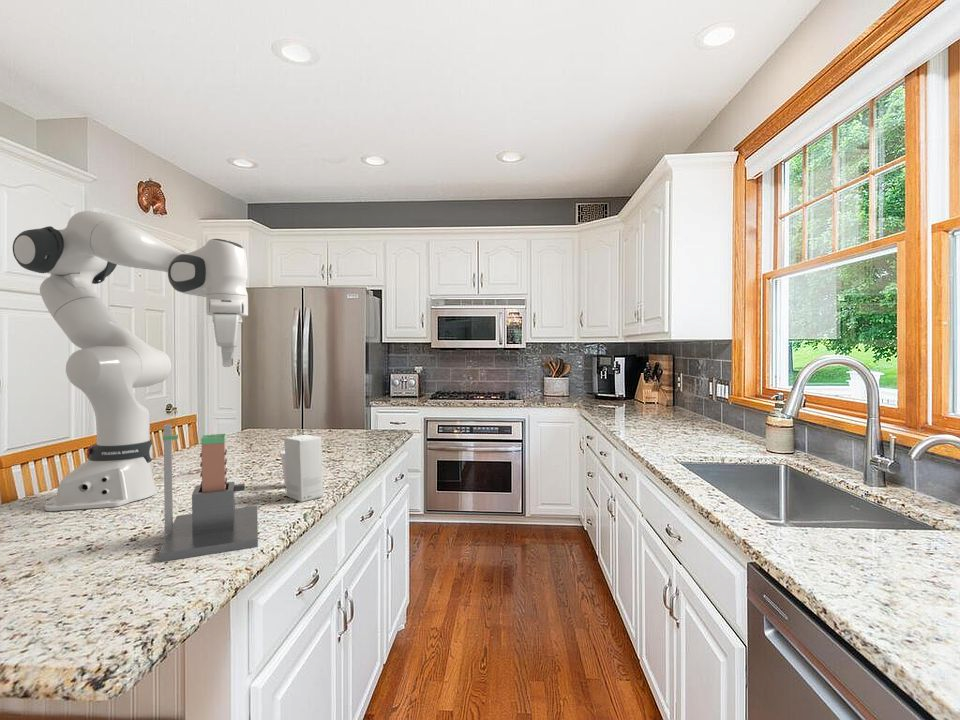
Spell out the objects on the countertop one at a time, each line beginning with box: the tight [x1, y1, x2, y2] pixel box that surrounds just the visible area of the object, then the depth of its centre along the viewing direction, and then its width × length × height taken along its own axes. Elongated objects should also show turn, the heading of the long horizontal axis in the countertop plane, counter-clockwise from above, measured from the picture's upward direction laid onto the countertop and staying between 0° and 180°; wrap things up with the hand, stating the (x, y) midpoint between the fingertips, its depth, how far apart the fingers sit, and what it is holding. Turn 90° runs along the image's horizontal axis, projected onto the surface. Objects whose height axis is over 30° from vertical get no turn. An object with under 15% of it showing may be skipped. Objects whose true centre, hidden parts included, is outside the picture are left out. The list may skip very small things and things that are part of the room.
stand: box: [158, 424, 259, 563], centre depth 99 cm, size 17×22×23 cm
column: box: [199, 433, 228, 492], centre depth 99 cm, size 5×4×12 cm
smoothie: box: [279, 435, 295, 488], centre depth 134 cm, size 6×6×14 cm
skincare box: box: [284, 434, 324, 503], centre depth 124 cm, size 8×7×16 cm
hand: (228, 366), depth 115 cm, fingers open, 8 cm apart
